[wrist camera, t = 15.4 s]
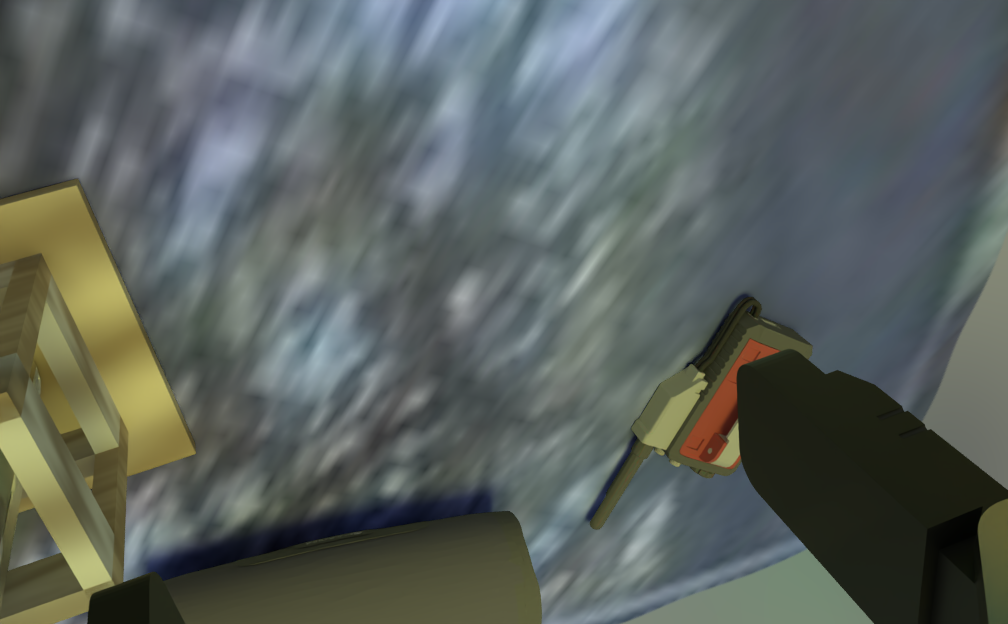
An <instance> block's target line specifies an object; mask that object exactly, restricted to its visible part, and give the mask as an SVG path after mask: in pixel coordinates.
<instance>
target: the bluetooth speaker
mask: <svg viewBox="0 0 1008 624" xmlns="http://www.w3.org/2000/svg"><path fill="white" fill-rule="evenodd" d="M163 582H164V584H165V585H166V587H167V589H168V591H169V593H170V595H171V597H172V599H173V601H174V603H175V605H176V607H177V609H178V611H179V613H180V614H181V616H182V618H183V620H184V622H185V624H541V620H542V608H541V595H540V589H539V585H538V581H537V578H536V575H535V573H534V569H533V566H532V563H531V559H530V556H529V552H528V549H527V546H526V543H525V540H524V537H523V533H522V529H521V526H520V523H519V521H518V519H517V518H516V517H515V515H514V514H513V513H511V512H510V511H502V512H488V513H478V514H469V515H463V516H457V517H451V518H445V519H439V520H433V521H427V522H426V521H424V522H418V523H412V524H406V525H401V526H395V527H389V528H380V529H373V530H364V531H358V532H353V533H347V534H342V535H337V536H332V537H328V538H323V539H318V540H314V541H310V542H305V543H301V544H297V545H293V546H290V547H287V548H283V549H280V550H276V551H273V552H270V553H267V554H262V555H258V556H254V557H250V558H245V559H241V560H237V561H236V562H232V563H228V564H224V565H220V566H216V567H212V568H208V569H204V570H200V571H196V572H192V573H188V574H185V575H181V576H178V577H175V578H171V579H168V580H165V581H163Z"/></svg>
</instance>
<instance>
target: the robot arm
mask: <svg viewBox="0 0 1008 624" xmlns="http://www.w3.org/2000/svg"><path fill="white" fill-rule="evenodd" d="M736 382H737V406H738V430H739V450H740V456H741V460H742V464H743V467H744V469H745V472H746V474H747V476H748V478H749V480H750V482H751V484H752V485H753V487H754V488H755V490H756V491H757V492H758V494H759V495H760V496H761V497H762V498H763V499H764V500H765V501H766V503H767V504H768V505H769V506H770V507H771V508H772V509H773V510H774V512H775V513H776V514H777V515H778V516H779V517H780V518H781V519H782V521H783V522H784V523H785V524H786V525H787V526H788V527H789V528H790V530H791V531H792V532H793V533H794V534H795V535H796V536H797V537H798V539H799V540H800V541H801V542H802V543H803V544H804V545H805V546H806V548H807V549H808V550H809V551H810V552H811V553H812V554H813V555H814V556H815V558H816V559H817V560H818V561H819V562H820V563H821V564H822V566H823V567H824V568H825V569H826V570H827V571H828V572H829V573H830V574H831V576H832V577H833V578H834V579H835V580H836V581H837V582H838V583H839V585H840V586H841V587H842V588H843V589H844V590H845V591H846V592H847V594H848V595H849V596H850V597H851V598H852V599H853V600H854V601H855V603H856V604H857V605H858V606H859V607H860V608H861V609H862V610H863V611H864V612H865V614H866V615H867V616H868V617H869V618H870V619H871V620H872V622H873V623H874V624H1008V490H1007V489H1006V488H1004V487H1003V486H1002V485H1001V484H999V483H998V482H997V481H995V480H994V479H993V478H992V477H990V476H989V475H988V474H987V473H985V472H984V471H983V470H982V469H980V468H979V467H978V466H977V465H975V464H974V463H973V462H972V461H970V460H969V459H968V458H966V457H965V456H964V455H963V454H961V453H960V452H959V451H958V450H956V449H955V448H954V447H952V446H951V445H950V444H949V443H947V442H946V441H945V440H944V439H942V438H941V437H940V436H939V435H937V434H936V433H935V432H934V431H932V430H931V429H930V430H927V429H926V427H925V424H923V423H922V422H921V421H920V420H919V419H917V418H916V417H915V416H913V415H912V414H911V413H910V412H908V411H906V412H904V410H903V408H902V406H901V405H900V404H898V403H897V402H896V401H895V400H893V399H892V398H891V397H890V396H888V395H887V394H886V393H884V392H883V391H882V390H881V389H879V388H878V387H877V386H876V385H874V384H872V383H869V382H867V381H864V380H861V379H859V378H856V377H854V376H851V375H849V374H846V373H844V372H841V371H839V370H836V371H834V372H831V373H828V374H824V373H823V372H822V371H821V370H820V369H818V368H817V367H816V366H815V365H814V364H812V363H811V362H810V361H809V360H808V359H806V358H805V357H804V356H803V355H802V354H800V353H799V352H798V351H796V350H794V349H786V350H783V351H780V352H777V353H775V354H772V355H769V356H766V357H763V358H761V359H758V360H755V361H752V362H749V363H746V364H744V365H742V366H740V367H739V369H738V371H737V377H736ZM87 624H185V622H184V620H183V618H182V616H181V614H180V613H179V611H178V609H177V607H176V605H175V603H174V601H173V599H172V597H171V595H170V593H169V591H168V589H167V587H166V585H165V584H164V582H163V580H162V578H161V577H160V576H159V575H158V573H156V572H151V573H148V574H146V575H143V576H140V577H137V578H134V579H131V580H129V581H126V582H123V583H120V584H117V585H114V586H112V587H109V588H106V589H103V590H100V591H98V592H95V593H93V594H92V595H91V597H90V601H89V610H88V623H87Z"/></svg>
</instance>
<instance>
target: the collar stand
mask: <svg viewBox="0 0 1008 624" xmlns="http://www.w3.org/2000/svg"><path fill="white" fill-rule="evenodd" d="M33 359H34V361H35V362H36V364H37V367H38V370H39V373H40V376H41V394H40V395H39V393H38V392H37V390H36V388H35V386H34V384H33V382H32V380H31V379H30V372H31V367H32V363H33ZM0 449H1V450H2V452H3V454H4V455H5V457H6V459H7V461H8V462H9V464H10V466H11V467H12V469H13V471H14V473H15V474H16V476H17V478H18V479H19V481H20V483H21V484H22V486H23V491H22V496H21V501H20V507H19V512H22V511H25V510H28V509H31V508H34V507H35V508H36V510H37V512H38V513H39V515H40V517H41V518H42V520H43V522H44V524H45V525H46V527H47V529H48V530H49V532H50V534H51V535H52V537H53V539H54V541H55V542H56V544H57V546H58V547H59V549H60V551H61V553H59V554H56V555H53V556H50V557H47V558H44V559H41V560H39V561H36V562H33V563H30V564H27V565H24V566H21V567H18V568H15V569H12V570H9V571H7V576H6V582H5V587H4V593H3V598H2V603H1V609H0V624H54V623H56V622H59V621H62V620H65V619H68V618H70V617H73V616H76V615H79V614H82V613H84V612H87V611H88V610H89V601H90V597H91V595H92V594H93V593H95V592H98V591H100V590H103V589H106V588H109V587H112V586H114V585H117V584H120V583H123V572H124V544H125V517H126V489H127V476H130V475H134V474H137V473H140V472H143V471H146V470H149V469H152V468H155V467H158V466H161V465H164V464H167V463H170V462H173V461H176V460H179V459H182V458H185V457H188V456H191V455H194V454H196V447H195V442H194V440H193V438H192V435H191V433H190V431H189V429H188V426H187V424H186V422H185V419H184V417H183V415H182V413H181V410H180V408H179V406H178V404H177V401H176V399H175V397H174V395H173V392H172V390H171V388H170V386H169V383H168V381H167V379H166V377H165V374H164V372H163V370H162V367H161V365H160V363H159V361H158V358H157V356H156V354H155V352H154V349H153V347H152V345H151V343H150V340H149V338H148V336H147V334H146V331H145V329H144V327H143V325H142V322H141V320H140V318H139V315H138V313H137V311H136V309H135V306H134V304H133V302H132V300H131V297H130V295H129V293H128V291H127V288H126V286H125V284H124V282H123V279H122V277H121V275H120V272H119V270H118V268H117V266H116V263H115V261H114V259H113V257H112V254H111V252H110V250H109V248H108V245H107V243H106V241H105V239H104V236H103V234H102V232H101V230H100V227H99V225H98V223H97V220H96V218H95V216H94V214H93V211H92V209H91V207H90V205H89V202H88V200H87V198H86V196H85V193H84V191H83V189H82V187H81V184H80V182H79V180H78V179H74V180H70V181H66V182H63V183H59V184H55V185H52V186H48V187H44V188H40V189H37V190H33V191H29V192H25V193H22V194H18V195H14V196H11V197H7V198H3V199H0ZM91 488H92V492H91V490H90V489H91ZM19 512H18V513H19Z"/></svg>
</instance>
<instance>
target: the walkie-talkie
mask: <svg viewBox="0 0 1008 624" xmlns="http://www.w3.org/2000/svg"><path fill="white" fill-rule="evenodd" d="M751 305H753V306H752V309H751V311H750V312H749V311H746V310H747V309H748V307H750V306H751ZM761 309H762V308H761V304H760V303H759V302H758V301H757V300H755V299H754V298H753V297H747V298H745V299H743V300H742V301H741V302H740V303H739V304H738V305H737V307H736V308H735V310H734V311H733V312H732V313H730V314H728V315H729V316H728V318H727V319H725V321H724V322H725V323H724V325H723V326H721V327H720V328H721V329H720V331H719V333H717V334H716V335H717V336H716V337H715V339H713V340H712V344H711V345H710V346H709V347H708V348H709V349H708V350H707V352H705V353H704V357H703V358H702V359H701V360H700V361H699V362H698V363H697V364H696V365H693V364H690V365H689V367H687V368H685V369H684V370H682V371H680V372H679V373H677V374H675V375H674V376H672V377H670V378H669V379H667V380H665V381H663V382H662V383H661V384H660V385H659V387H658V388H657V390H656V392H655V393H654V395H653V397H652V398H651V400H650V401H649V403H648V405H647V406H646V408H645V410H644V411H643V413H642V414H641V416H640V418H639V419H637V420H636V421H635V423H634V424H633V426H632V428H631V429H632V431H633V432H634V433H635V435H636V436H637V437H638V438H637V440H636V441H635V443H634V445H633V446H632V448H631V450H632V451H631V453H630V455H629V456H628V458H627V459H626V461H625V463H624V464H623V466H622V468H621V469H620V471H619V472H618V474H617V476H616V477H615V479H614V481H613V482H612V484H611V485H610V487H609V489H608V490H607V492H606V497H605V498H604V500H603V501H602V503H601V505H600V506H599V508H598V510H597V511H596V513H595V515H594V516H593V518H592V520H591V521H590V526H591V527H592V528H593V529H600V528H602V526H603V525H604V523H605V521H606V520H607V518H608V516H609V515H610V513H611V512H612V510H613V508H614V507H615V505H616V504H617V502H618V500H619V499H620V497H621V496H622V494H623V492H624V491H625V489H626V487H627V486H628V484H629V483H630V481H631V479H632V478H633V476H634V475H635V473H636V471H637V470H638V468H639V467H640V465H641V463H642V462H643V460H644V459H646V458H648V456H649V455H650V453H651V451H652V450H653V448H654V447H655V448H654V451H655V452H657V453H658V454H660V455H664V454H666V455H667V456H668V458H669V459H670V460H669V462H670V463H671V464H672V465H674V466H676V467H679V466H680V464H683V465H687V466H689V467H690V468H691V469H692V470H693V471H694V472H696V473H697V474H699V475H701V476H702V477H705V478H712V477H713V476H714V474H715V473H716V474H719V475H723V476H728V475H730V474H732V473H733V472H735V471H736V469H737V468H738V466H739V465H740V463H741V461H742V460H741V456H740V450H739V430H738V406H737V382H736V377H737V371H738V369H739V367H740V366H742V365H744V364H746V363H749V362H752V361H755V360H758V359H761V358H763V357H766V356H769V355H772V354H775V353H777V352H780V351H783V350H786V349H794V350H796V351H798V352H799V353H800V354H802V355H803V356H804V357H805V358H806V359H809V357H810V356H811V355H812V347H813V346H812V345H811V344H810V343H809V342H807V341H806V340H805V339H804V338H802V337H801V336H800V335H799V334H798V333H796V332H795V331H794V330H793V329H790V328H788V327H785V326H783V325H780V324H778V323H776V322H773V321H771V320H768V319H766V318H763V317H761V316H759V315H760V313H761Z"/></svg>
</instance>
